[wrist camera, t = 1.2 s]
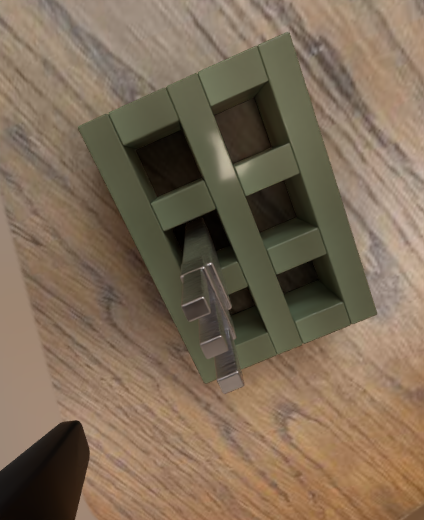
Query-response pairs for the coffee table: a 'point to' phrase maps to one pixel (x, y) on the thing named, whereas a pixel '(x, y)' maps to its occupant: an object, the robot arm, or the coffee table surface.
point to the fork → (209, 304)
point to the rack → (240, 202)
